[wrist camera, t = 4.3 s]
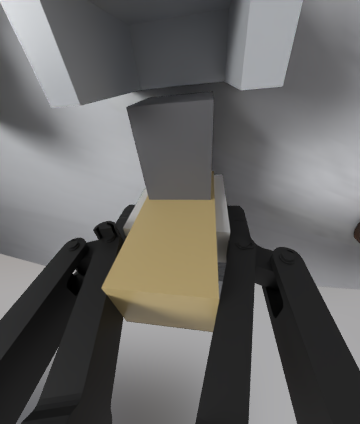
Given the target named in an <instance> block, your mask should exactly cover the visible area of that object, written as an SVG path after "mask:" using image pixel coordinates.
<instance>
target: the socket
mask: <svg viewBox="0 0 360 424" xmlns="http://www.w3.org/2000/svg"><path fill="white" fill-rule="evenodd" d="M0 3H1V5H2V7H3V9H4V11H5V13H6V15H7V17H8V19H9V21H10V23H11V25H12V28H13V30H14V32H15V34H16V36H17V38H18V40H19V42H20V44H21V46H22V48H23V50H24V52H25V54H26V56H27V59H28V61H29V63H30V65H31V67H32V69H33V71H34V73H35V75H36V77H37V79H38V81H39V83H40V85H41V87H42V90H43V92H44V94H45V96H46V98H47V100H48V102H49V104H50V106H51V108H59V107H70V106H80V105H84V104H88V103H92V102H96V101H100V100H104V99H108V98H112V97H116V96H119V95H123V94H127V93H131V92H135V91H139V90H146V89H155V88H165V87H175V86H184V85H194V84H204V83H213V82H223V81H225V82H227V83H228V84H230V85H232V86H234V87H235V88H237V89H239V90H250V89H261V88H272V87H282V86H283V84H284V79H285V75H286V71H287V67H288V62H289V58H290V54H291V50H292V45H293V41H294V37H295V33H296V28H297V24H298V20H299V16H300V11H301V7H302V3H303V0H0Z"/></svg>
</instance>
